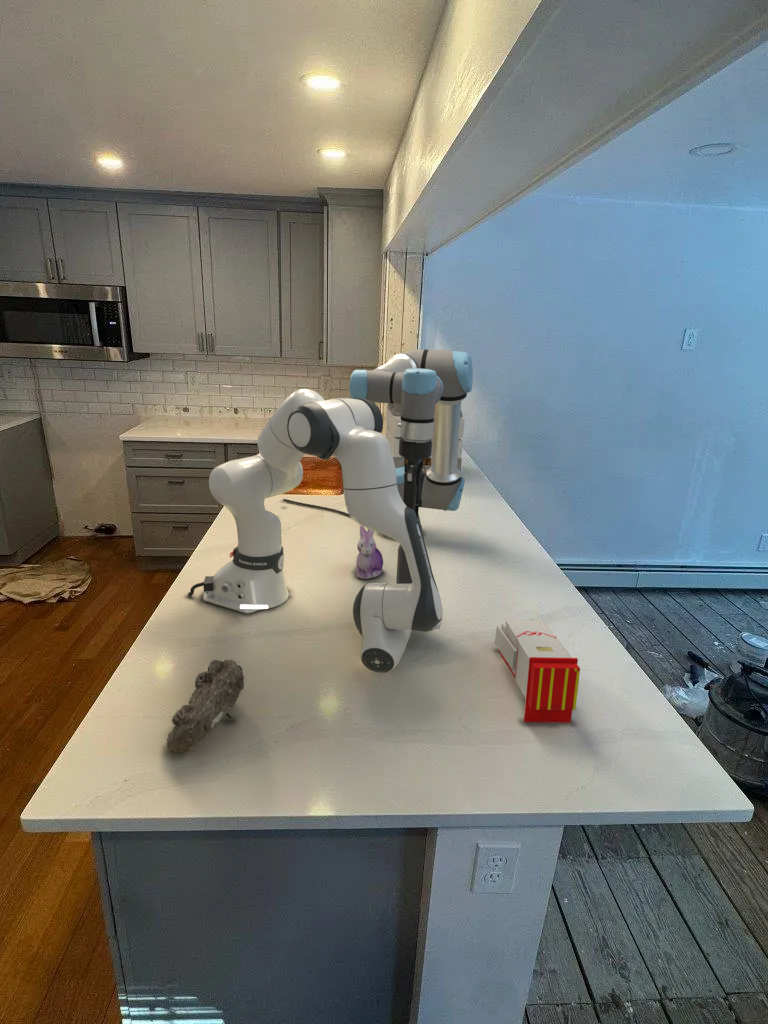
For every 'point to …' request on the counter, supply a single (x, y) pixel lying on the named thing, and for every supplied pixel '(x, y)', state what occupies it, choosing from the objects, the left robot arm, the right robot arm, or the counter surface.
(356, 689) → the counter surface
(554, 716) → the toy
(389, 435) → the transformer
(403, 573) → the bottle
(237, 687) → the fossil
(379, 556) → the figurine
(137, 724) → the counter surface
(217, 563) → the counter surface
